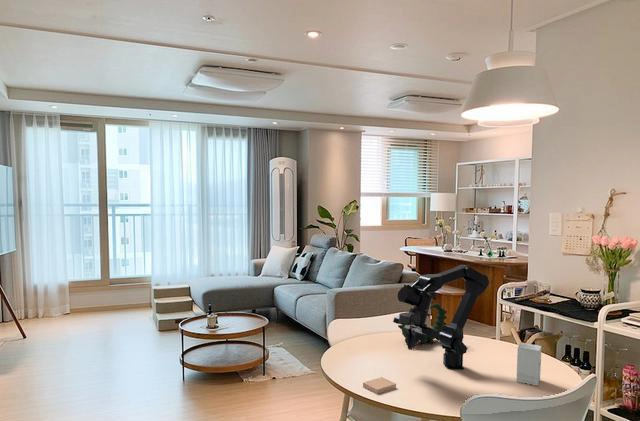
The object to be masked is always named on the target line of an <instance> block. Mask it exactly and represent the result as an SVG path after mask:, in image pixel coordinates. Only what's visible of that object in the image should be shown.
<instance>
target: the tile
mask: <svg viewBox="0 0 640 421" xmlns="http://www.w3.org/2000/svg"><path fill="white" fill-rule="evenodd" d="M362 387H363V388H364V389H366V390H368V391H370V392H372V393H373V394H376V395H378V393H379V394H381V392H382V393H384V391H385V392H388V391H390V390H393V389H396V388H397V382H393V381H391V380H389V379H387V378H385V377H382V376H380V377H377V378H373V379H370V380H367V381H364V382H362Z"/></svg>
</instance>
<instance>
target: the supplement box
mask: <svg viewBox="0 0 640 421" xmlns="http://www.w3.org/2000/svg"><path fill="white" fill-rule="evenodd" d="M516 352H517V355H516V356H517V358H516V382H517V383H520V384H525V383H527V384H526V385H530V384H532V385H531V386H535V385H538V386H539V384H540V381H541V372H542V370H541V368H542V367H541V366H542V346H541V345H538V344H533V343H532V344H530V343H524V342H520V343H519V345H518V346H517V351H516Z"/></svg>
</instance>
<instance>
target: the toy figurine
mask: <svg viewBox="0 0 640 421" xmlns="http://www.w3.org/2000/svg"><path fill="white" fill-rule="evenodd" d="M433 308H435V309H436V310H437V314H436V319H435V320H434V324H433V326H432V327H431V328H433V329H436V330H439V332H441V330H442V328H443V326H444V325H446V326H447V323H446V322H445V320H447V319H448V317H447V316H446V314H448V311H447V310H446V309H445V308H443V307H442V306H441V304H439V303H437V302H436V303H433V304H432V303H431V304H430V308H429V310H431V309H433ZM413 325H415V324H413ZM397 327H398V328H399V329H400V330H401V334H402V336H403V337H404V342H405V344H406V345H408V339H407V332H406V331H405V329H403V327H405V325H402V324H397ZM418 327H420V326H418ZM434 340H436V341H438V342H440V340H439V339H438V338H435V337H431V336H428V335H426V336H424V337H423V338H422V339H421V340H419V342H420V343H421V344H423V345H425V344H427V342H428V343H429V344H431V345H433V344H434V343H435V341H434Z"/></svg>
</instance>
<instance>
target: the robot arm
mask: <svg viewBox="0 0 640 421" xmlns="http://www.w3.org/2000/svg"><path fill="white" fill-rule="evenodd" d="M459 279H463V280H464V281H465V282H464V289H465V292H464V294H463V296H462V298H461V301H460V302H459V304H458V307H457V309H456V311H455V313H454V315H453V318H452V320H451V322H450V323H449V324H448V325H447V324H446V325H444V326H443V328H442V330H441V332H439V330H436V329H433V328H432V327H429V326H428V325H427V324H426V322H427V318H428V317H430V315H431V313H429V311H430V307H431V305H432V301H433V300H434V301H438V298H437V297H436V295H435V293H436V292H437V291H439V290H441V289H442V287H443V286H445V285H447V284H449V283H451V282H454V281H457V280H459ZM489 284H490V281H489V278H488V276H487V275H486V274H482V273H481V272H480V271H478V270H475V269H474V268H472V267H471V266H469V265H465V264H459V265H458V266H456V267H453V268H450V269H448V270H444V271H441V272H439V273H433V274H432V273H430V274H422V275H420V276H419V278H418V279H417V280H416V281H415V282H414V283H413V284H412V285H410V284H407V283H404V285H403V286H402V287H401V288H400V289H399V290H398V292H397V300H398V301H399V302H400V303H403V304H406V305H410V306H413V308H412V307H411V308H410V309H409V310H408V311H406V312H401V313H399V315H395V316H394V317H393V320H392V323H394V324H397V325H405V327H403V329H405V331H406V332H407V339H408V344H407V349H408V350H413V349H414V347H415V346H416V345H417V344H418V343H419V342H420V341H419V340H421V339H422V338H423V337H424V336H426V335H428V336H431V337H435V338H438V339H439V342H440V346H441V348H442V349H444V352H443V357H442V359H443V360H442V363H443V365H444V366H445V367H446V369H447V370H464V369H465V367H464V365H463V364H464V354H466V353H467V350H468V347H467V346H466V345H465V343H464V342H463V340H464V327H465V325H466V323H467V321H468V319H469V317H470V314H471V312H472V309H473V308H474V305H475V304H476V301H477V299H478V297H480V296H481V295H482V294H483V293H485V291H486V290H487V288H488V287H489ZM413 324H415V325H413ZM418 326H420V327H418Z"/></svg>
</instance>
